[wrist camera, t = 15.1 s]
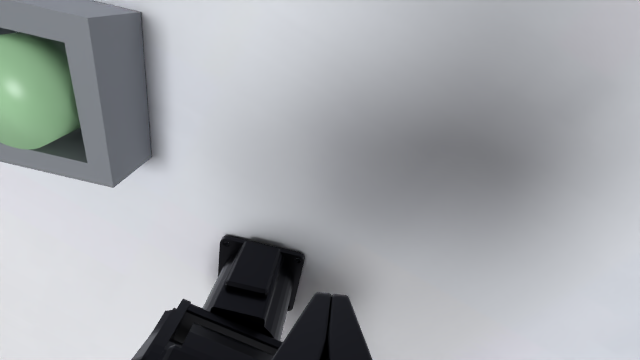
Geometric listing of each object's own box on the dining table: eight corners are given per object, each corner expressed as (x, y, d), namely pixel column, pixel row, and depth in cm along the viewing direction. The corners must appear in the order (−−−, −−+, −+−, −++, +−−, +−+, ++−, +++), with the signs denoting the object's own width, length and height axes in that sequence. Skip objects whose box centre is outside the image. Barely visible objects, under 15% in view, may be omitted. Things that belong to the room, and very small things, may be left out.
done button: (115, 131, 21) (65, 159, 17) (31, 111, 21) (-34, 136, 17) (102, 41, 18) (41, 54, 15) (6, 18, 18) (-78, 26, 15)
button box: (151, 157, 22) (113, 187, 19) (22, 126, 22) (-40, 152, 19) (140, 11, 18) (87, 18, 14) (-23, -27, 18) (-115, -30, 14)
